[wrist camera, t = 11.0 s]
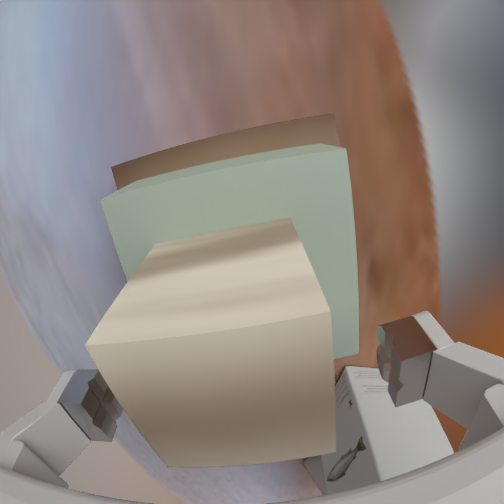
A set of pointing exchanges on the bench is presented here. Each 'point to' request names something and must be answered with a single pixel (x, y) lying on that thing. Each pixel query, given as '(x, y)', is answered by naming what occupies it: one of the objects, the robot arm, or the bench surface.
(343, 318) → the tower top block
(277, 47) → the bench surface
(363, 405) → the supplement box
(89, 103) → the bench surface
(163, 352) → the birch block
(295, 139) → the tower base slab
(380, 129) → the bench surface
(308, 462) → the flask
